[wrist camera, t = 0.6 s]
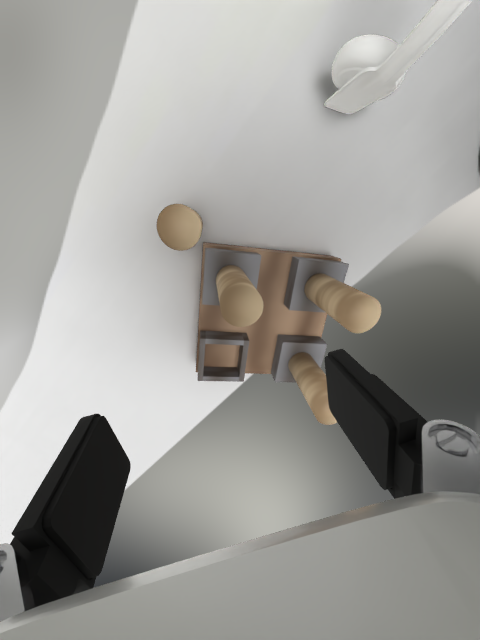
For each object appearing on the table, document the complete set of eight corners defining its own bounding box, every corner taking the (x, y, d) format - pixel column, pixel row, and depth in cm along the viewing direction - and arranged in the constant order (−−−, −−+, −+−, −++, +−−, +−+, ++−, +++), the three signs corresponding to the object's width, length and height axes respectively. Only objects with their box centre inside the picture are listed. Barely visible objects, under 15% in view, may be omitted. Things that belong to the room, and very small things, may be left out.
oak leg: (203, 210, 31) (202, 207, 20) (201, 240, 33) (200, 252, 22) (173, 206, 31) (156, 201, 20) (173, 237, 32) (157, 248, 21)
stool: (330, 255, 36) (410, 280, 22) (304, 364, 42) (352, 435, 28) (203, 242, 33) (202, 260, 19) (196, 361, 39) (191, 439, 25)
